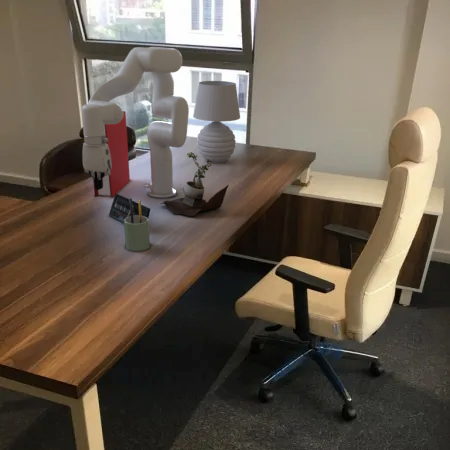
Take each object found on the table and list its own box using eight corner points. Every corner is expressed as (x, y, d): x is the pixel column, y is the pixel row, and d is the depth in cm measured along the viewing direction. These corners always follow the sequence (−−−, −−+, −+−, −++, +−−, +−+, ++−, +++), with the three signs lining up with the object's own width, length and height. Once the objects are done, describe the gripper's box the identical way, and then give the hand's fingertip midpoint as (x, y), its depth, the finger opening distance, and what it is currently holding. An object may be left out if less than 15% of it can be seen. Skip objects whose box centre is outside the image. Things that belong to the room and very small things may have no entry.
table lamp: (238, 166, 278) (242, 87, 258) (191, 165, 278) (191, 85, 258) (238, 155, 300) (241, 80, 280) (194, 153, 300) (194, 79, 280)
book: (112, 197, 228) (106, 122, 212) (94, 196, 229) (87, 121, 213) (130, 179, 252) (126, 111, 236) (114, 178, 253) (109, 110, 237)
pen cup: (121, 249, 181) (117, 199, 172) (132, 240, 188) (129, 192, 179) (143, 252, 179) (140, 203, 170) (153, 243, 186) (151, 195, 177)
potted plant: (190, 202, 232) (207, 150, 219) (218, 224, 223) (238, 170, 211) (157, 205, 218) (173, 149, 205) (185, 228, 209) (204, 171, 196)
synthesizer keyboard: (152, 208, 192) (126, 202, 188) (145, 233, 195) (120, 228, 190) (137, 198, 211) (113, 192, 206) (131, 221, 213) (108, 216, 208)
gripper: (117, 140, 191) (120, 188, 200) (82, 136, 195) (87, 183, 204) (107, 144, 185) (111, 194, 194) (71, 140, 189) (76, 189, 198)
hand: (98, 188), depth 199 cm, fingers closed
